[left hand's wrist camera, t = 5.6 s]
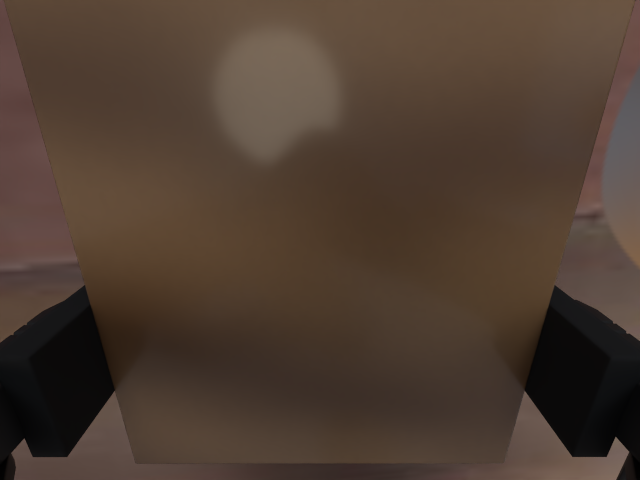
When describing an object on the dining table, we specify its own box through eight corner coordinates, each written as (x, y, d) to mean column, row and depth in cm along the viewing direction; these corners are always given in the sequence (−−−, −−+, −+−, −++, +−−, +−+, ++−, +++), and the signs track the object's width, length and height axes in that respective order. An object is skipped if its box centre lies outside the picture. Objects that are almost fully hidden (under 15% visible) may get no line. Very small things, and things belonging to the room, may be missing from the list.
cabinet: (161, -183, 12) (-282, -994, 3) (477, -183, 12) (919, -994, 3) (220, 298, 19) (135, 464, 10) (418, 298, 19) (504, 464, 10)
